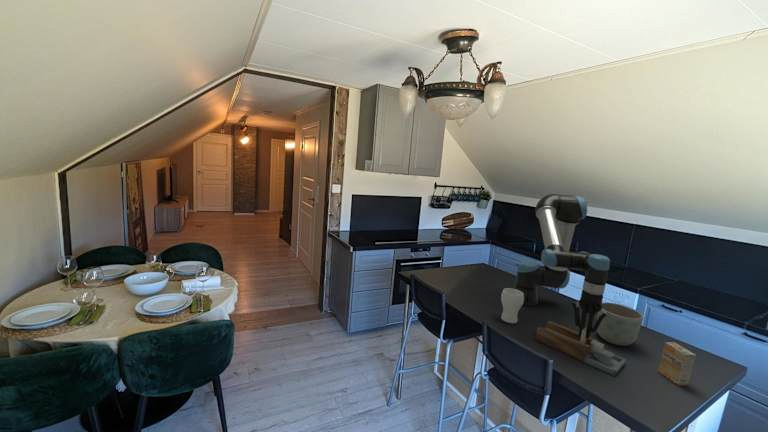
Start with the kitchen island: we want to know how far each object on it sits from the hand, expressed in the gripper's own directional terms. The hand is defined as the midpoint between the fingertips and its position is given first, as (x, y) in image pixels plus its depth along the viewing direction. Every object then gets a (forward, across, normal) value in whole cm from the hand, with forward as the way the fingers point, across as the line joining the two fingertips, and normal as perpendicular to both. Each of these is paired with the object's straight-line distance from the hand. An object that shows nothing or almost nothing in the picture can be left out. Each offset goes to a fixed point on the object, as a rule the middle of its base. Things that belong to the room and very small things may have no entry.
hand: (582, 343), depth 139 cm
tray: (+4, +9, 0) cm, 10 cm away
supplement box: (+4, +29, +11) cm, 31 cm away
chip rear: (+1, +5, 0) cm, 5 cm away
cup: (+4, -34, +1) cm, 34 cm away
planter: (+4, +6, +26) cm, 27 cm away
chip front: (+1, +7, 0) cm, 7 cm away
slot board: (+4, -6, 0) cm, 8 cm away
